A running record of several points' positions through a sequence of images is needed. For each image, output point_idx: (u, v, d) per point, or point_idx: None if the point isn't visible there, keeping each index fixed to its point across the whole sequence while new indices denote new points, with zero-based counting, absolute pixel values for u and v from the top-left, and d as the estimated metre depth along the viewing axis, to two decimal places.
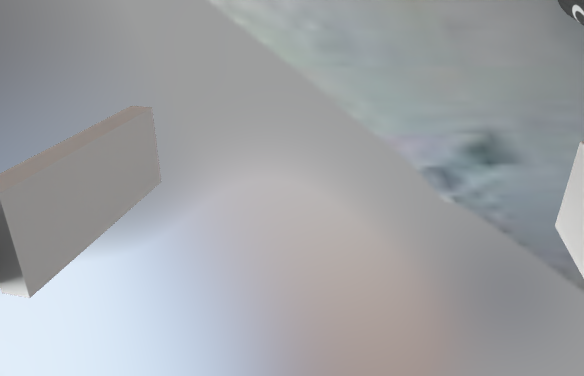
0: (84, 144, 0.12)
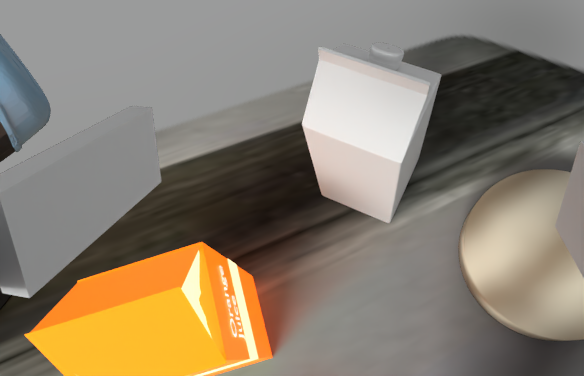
0: (84, 144, 0.12)
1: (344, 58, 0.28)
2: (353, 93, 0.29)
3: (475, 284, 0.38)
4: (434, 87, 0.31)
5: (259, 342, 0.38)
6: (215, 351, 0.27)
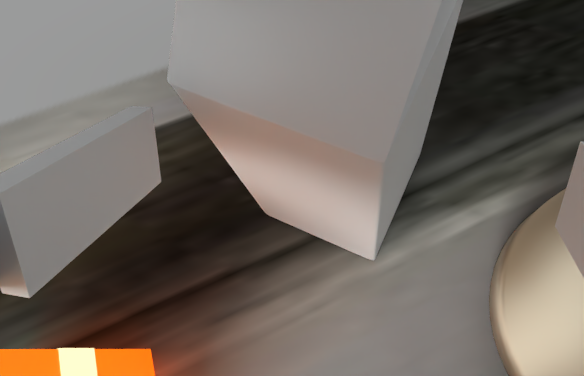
0: (84, 144, 0.12)
1: None
2: None
3: None
4: None
5: None
6: None
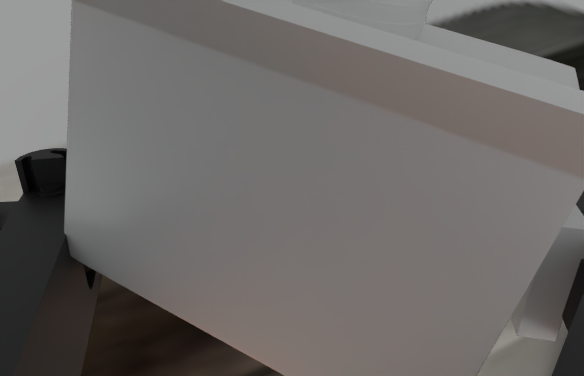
0: None
1: None
2: (216, 150, 0.07)
3: None
4: None
5: None
6: None
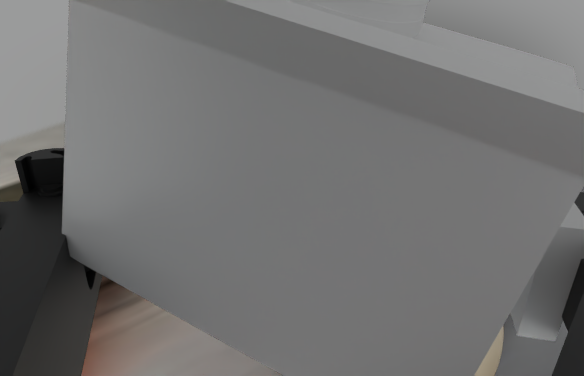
0: None
1: None
2: (214, 148, 0.07)
3: None
4: None
5: None
6: None
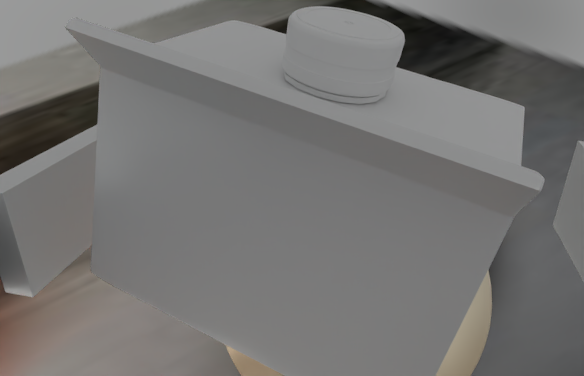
0: (87, 144, 0.12)
1: (159, 62, 0.07)
2: (223, 190, 0.08)
3: None
4: None
5: None
6: None
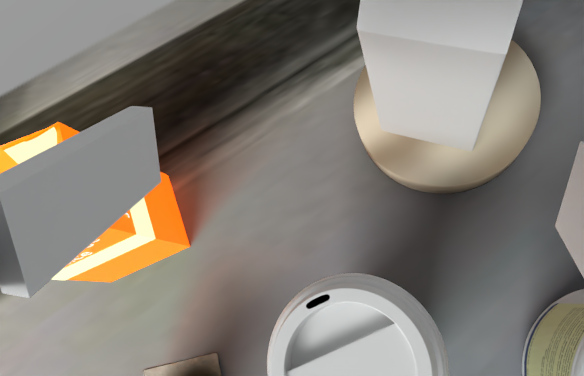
0: (84, 144, 0.12)
1: None
2: None
3: (365, 146, 0.38)
4: None
5: (163, 228, 0.39)
6: None
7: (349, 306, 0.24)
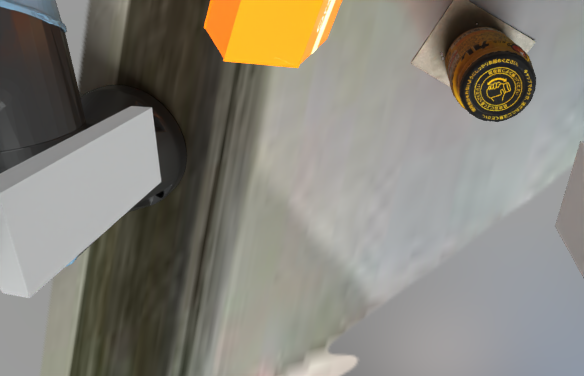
0: (84, 144, 0.12)
1: None
2: None
3: None
4: None
5: None
6: None
7: None
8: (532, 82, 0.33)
